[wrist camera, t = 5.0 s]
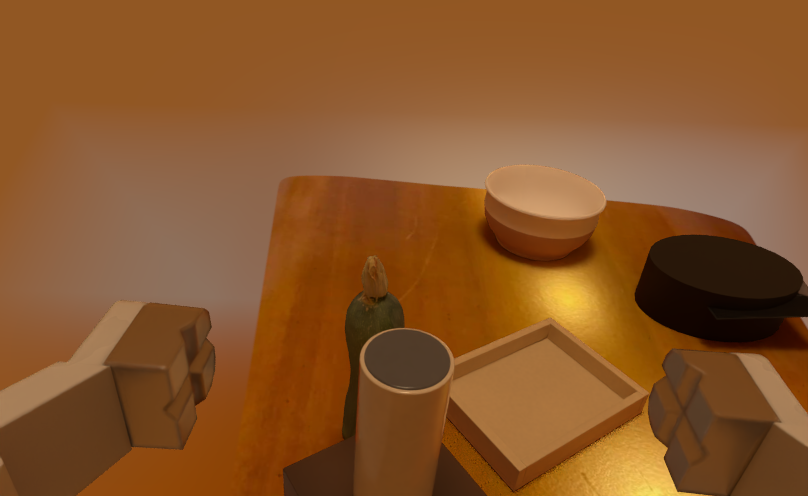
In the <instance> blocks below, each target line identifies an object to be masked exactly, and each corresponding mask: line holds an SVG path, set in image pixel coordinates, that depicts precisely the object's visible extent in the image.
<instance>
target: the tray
mask: <svg viewBox="0 0 808 496" xmlns="http://www.w3.org/2000/svg"><path fill="white" fill-rule="evenodd" d="M454 363H455V367H454V374H453V380H452V386H451V392H450V397H449V403H448V409H447V415H446V417H447V418H448V419H449V420H450V421H451V422H452V423H453V424H454V425H455V427H456V428H457V429H458V430H459V431H460V432H461V433H462V434H463V436H464V437H465V438H466V439H467V440H468V441H469V442H470V443H471V444H472V446H473V447H474V448H475V449H476V450H477V451H478V452H479V453H480V455H481V456H482V457H483V458H484V459H485V460H486V461H487V462H488V463H489V465H490V466H491V467H492V468H493V469H494V470H495V471H496V472H497V474H498V475H499V476H500V477H501V478H502V479H503V480H504V481H505V482H506V484H507V485H508V486H509V487H510V488H511V489H512V490H513V491H515V490H517V489H519V488H520V487H522V486H524V485H525V484H527V483H528V482H530V481H532V480H533V479H535V478H536V477H538V476H540V475H541V474H543V473H544V472H546V471H548V470H549V469H551V468H553V467H554V466H556V465H557V464H559V463H561V462H562V461H564V460H565V459H567V458H569V457H570V456H572V455H574V454H575V453H577V452H578V451H580V450H582V449H583V448H585V447H586V446H588V445H590V444H591V443H593V442H594V441H596V440H598V439H599V438H601V437H603V436H604V435H606V434H607V433H609V432H611V431H612V430H614V429H615V428H617V427H619V426H620V425H622V424H624V423H625V422H627V421H628V420H630V419H632V418H633V417H635V416H636V415H638V414H640V413H641V412H642V410H643V407H644V405H645V403H646V400H647V398H648V395H649V393H648V392H647V391H646V390H644V389H643V388H642V387H641V386H639V385H638V384H637V383H635V382H634V381H633V380H631V379H630V378H629V377H628V376H626V375H625V374H624V373H622V372H621V371H620V370H618V369H617V368H616V367H615V366H613V365H612V364H611V363H609V362H608V361H607V360H605V359H604V358H603V357H602V356H600V355H599V354H598V353H596V352H595V351H594V350H592V349H591V348H590V347H588V346H587V345H586V344H585V343H583V342H582V341H581V340H579V339H578V338H577V337H575V336H574V335H573V334H572V333H570V332H569V331H568V330H566V329H565V328H564V327H562V326H561V325H560V324H559V323H557V322H556V321H555V320H553V319H552V318H548V319H546V320H543V321H541V322H539V323H536V324H534V325H532V326H530V327H527V328H525V329H523V330H520V331H518V332H516V333H513V334H511V335H509V336H506V337H504V338H502V339H499V340H497V341H495V342H492V343H490V344H488V345H485V346H483V347H481V348H478V349H476V350H474V351H471V352H469V353H467V354H464V355H462V356H460V357H457V358H455V359H454Z"/></svg>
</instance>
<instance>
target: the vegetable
mask: <svg viewBox="0 0 808 496" xmlns="http://www.w3.org/2000/svg"><path fill="white" fill-rule="evenodd" d="M367 259H368V260H367V261H366V263H365V266H364V269H363V272H362V283H363V288H364V291H362V292H361V293H359V294H358V295H357V296H356V297H355V298H354V299H353V301H352V302H351V304H350V306H349V308H348V310H347V314H346V322H345V334H346V342H347V346H348V351H349V359H350V366H351V374H350V384H349V388H348V392H347V395H346V400H345V407H344V418H343V428H342V435H343V438H344V440H346V439H348V438H350V437H352V436H354V435H356V416H357V397H358V378H359V359H360V353H361V350H362V348H363V346H364V345H365V343H366V342H367V341H368V340H369V339H370V338H371V337H373V336H374V335H376V334H378V333H380V332H382V331H386V330H389V329H395V328H404V314H403V309H402V307H401V305H400V303H399V301H398V300H397V298H396V297H394V296H393V295H392V294H391V293H389V292H387V289H388V280H387V276H386V273H385V270H384V267H383V264H382V263H381V262H380V260H379V258H377V255H376V256H369V257H368V258H367Z"/></svg>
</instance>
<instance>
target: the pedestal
mask: <svg viewBox="0 0 808 496" xmlns="http://www.w3.org/2000/svg"><path fill="white" fill-rule="evenodd" d="M354 454H355V435H354V436H352V437H350V438H348V439H346V440H344V441H341V442H339V443H337V444H335V445H333V446H331V447H328V448H326V449H324V450H322V451H320V452H318V453H316V454H313V455H311V456H309V457H307V458H305V459H303V460H300V461H298V462H296V463H294V464H292V465H290V466H288V467H285V468H284V469H283V476H284V496H353V493H352V492H353V473H354ZM433 496H487V495H486V494H485V493H484V491H483V490H482V489H481V488H480V487H479V486H478V484H477V483H476V482H475V481H474V480H473V478H472V477H471V476H470V475H469V474H468V473H467V471H466V470H465V469H464V468H463V467H462V466H461V464H460V463H459V462H458V461H457V460H456V458H455V457H454V456H453V455H452V454H451V453H450V451H449V450H448V449H447V448H446V447H445V445H444V444H443V443H442V444H441V450H440V456H439V462H438V467H437V473H436V479H435V485H434V491H433Z"/></svg>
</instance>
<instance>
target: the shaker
mask: <svg viewBox="0 0 808 496" xmlns="http://www.w3.org/2000/svg"><path fill="white" fill-rule="evenodd" d="M454 367H455V363H454V358H453V355H452V353H451V351H450V349H449V348H448V347H447V345H446V344H445V343H444V342H443V341H441V340H440V339H439V338H437V337H435V336H434V335H432V334H430V333H427V332H424V331H421V330H417V329H411V328H395V329H389V330H386V331H382V332H380V333H378V334H376V335H374V336H373V337H371V338H370V339H369V340H368V341H367V342H366V343H365V345H364V346H363V348H362V350H361V353H360V359H359V378H358V397H357V416H356V435H355V454H354V473H353V492H352V493H353V496H433V491H434V485H435V479H436V473H437V467H438V462H439V456H440V450H441V444H442V438H443V432H444V427H445V421H446V415H447V409H448V403H449V397H450V392H451V386H452V380H453V374H454Z"/></svg>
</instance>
